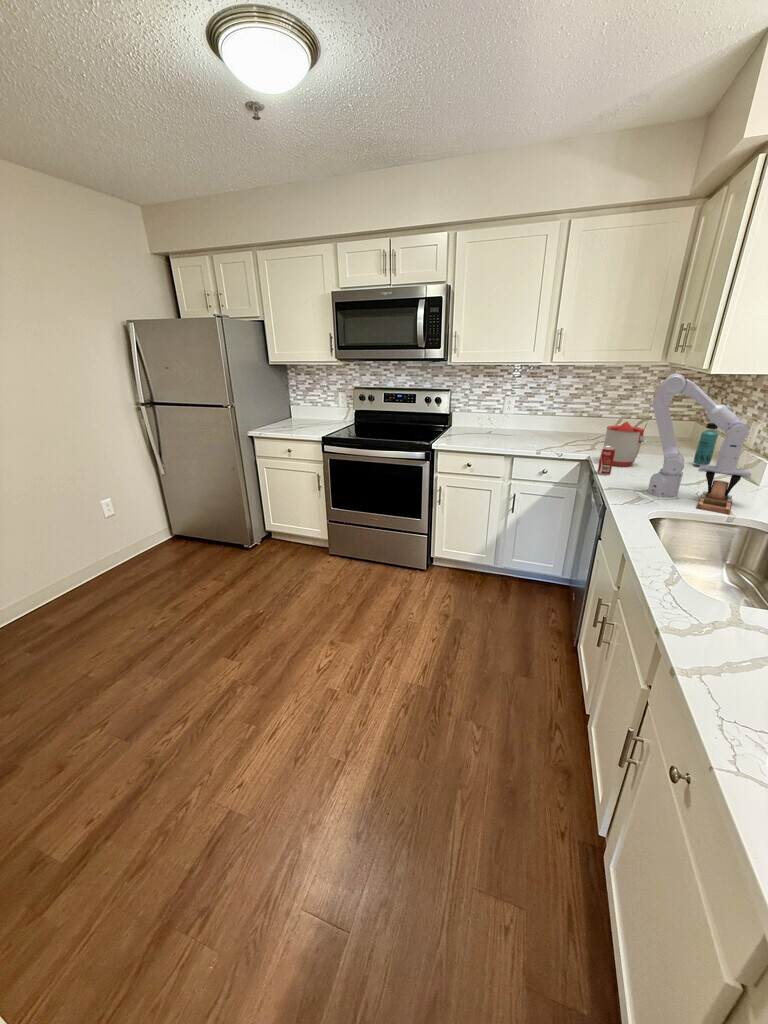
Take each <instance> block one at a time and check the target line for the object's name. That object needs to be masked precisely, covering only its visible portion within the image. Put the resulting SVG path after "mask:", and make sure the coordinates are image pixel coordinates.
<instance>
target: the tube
mask: <svg viewBox="0 0 768 1024" xmlns="http://www.w3.org/2000/svg"><path fill="white" fill-rule="evenodd" d="M729 483H730V482H729V481H726V480H725V481H724V480H721V479H719V480H718V479H717V480H715V479H713V482H712V487H711V491H710V494H709V497H708V498H714V499H720V500H724V497H725V494H726V491H727V488H728V486H729Z"/></svg>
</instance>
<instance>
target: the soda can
mask: <svg viewBox="0 0 768 1024" xmlns="http://www.w3.org/2000/svg"><path fill="white" fill-rule="evenodd" d="M614 448H615V447H611V446H604V445H603V447H602V448H601V452H600V458H599V463H598V468H597V474H598V475H600V476H610V475H612V474H611V473H612V468H613V465H612V464H613V459H614V454H615V449H614Z"/></svg>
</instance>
